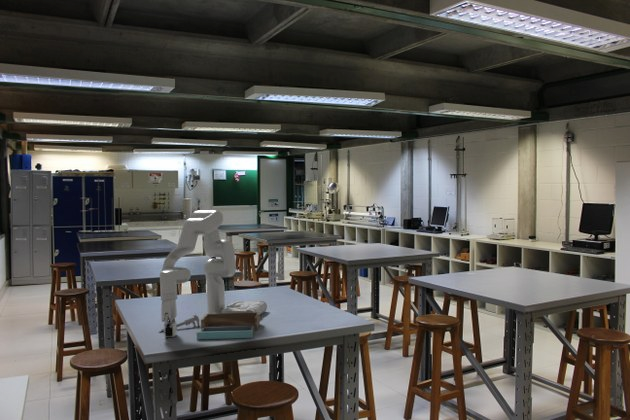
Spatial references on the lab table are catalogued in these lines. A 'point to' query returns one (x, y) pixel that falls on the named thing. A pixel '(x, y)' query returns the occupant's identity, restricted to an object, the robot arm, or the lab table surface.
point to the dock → (231, 319)
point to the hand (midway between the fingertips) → (170, 333)
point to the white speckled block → (174, 329)
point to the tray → (226, 332)
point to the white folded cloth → (245, 307)
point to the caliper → (188, 322)
